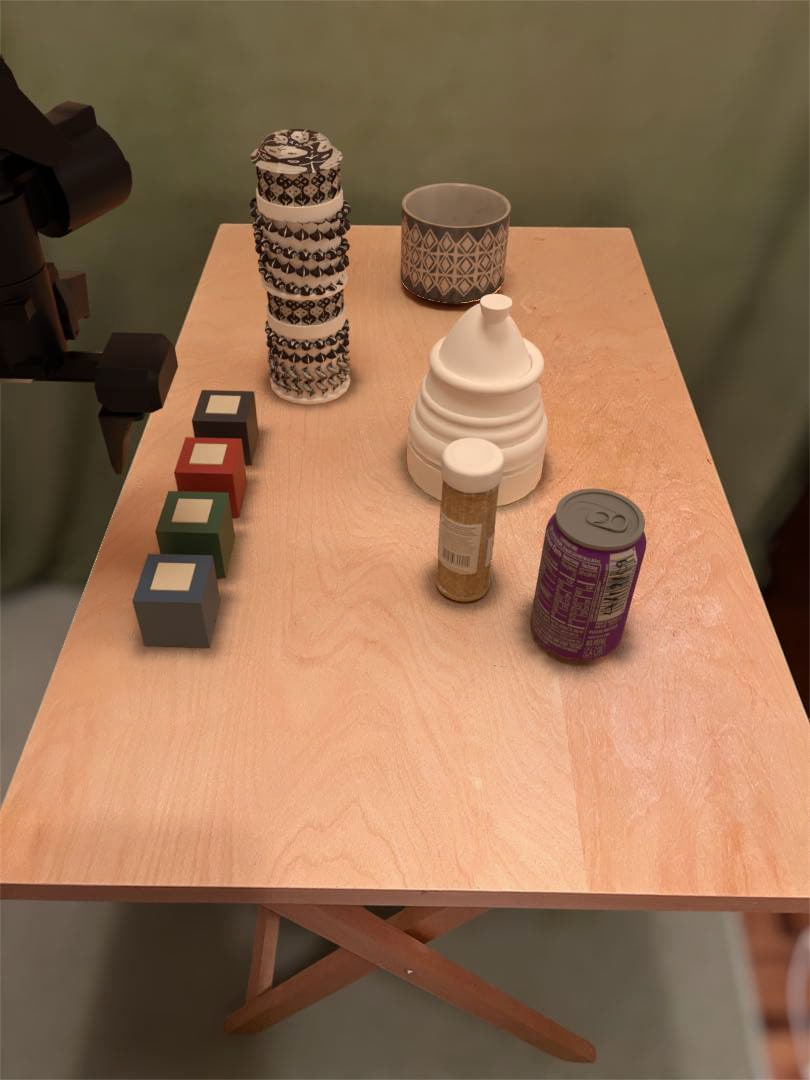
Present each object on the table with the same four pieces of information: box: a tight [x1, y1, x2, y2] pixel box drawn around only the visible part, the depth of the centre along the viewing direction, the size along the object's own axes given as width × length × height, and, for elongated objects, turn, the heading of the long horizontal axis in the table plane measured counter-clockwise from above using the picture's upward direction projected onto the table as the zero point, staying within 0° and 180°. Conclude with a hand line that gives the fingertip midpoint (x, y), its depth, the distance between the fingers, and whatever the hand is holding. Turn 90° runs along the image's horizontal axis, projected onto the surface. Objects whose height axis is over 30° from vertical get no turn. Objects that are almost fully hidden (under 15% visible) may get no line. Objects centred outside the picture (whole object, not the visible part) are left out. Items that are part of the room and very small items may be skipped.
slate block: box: [132, 553, 221, 649], centre depth 70 cm, size 5×5×5 cm
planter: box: [400, 182, 512, 303], centre depth 109 cm, size 13×13×10 cm
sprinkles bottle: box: [435, 438, 504, 603], centre depth 70 cm, size 5×5×13 cm
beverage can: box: [530, 488, 647, 661], centre depth 67 cm, size 7×7×12 cm
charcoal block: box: [191, 389, 260, 466], centre depth 86 cm, size 5×5×5 cm
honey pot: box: [406, 293, 549, 507], centre depth 81 cm, size 13×13×18 cm
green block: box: [154, 490, 236, 579], centre depth 75 cm, size 5×5×5 cm
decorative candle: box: [248, 128, 352, 406], centre depth 88 cm, size 9×9×25 cm
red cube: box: [173, 436, 248, 518], centre depth 81 cm, size 5×5×5 cm
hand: (57, 469), depth 66 cm, fingers open, 9 cm apart
